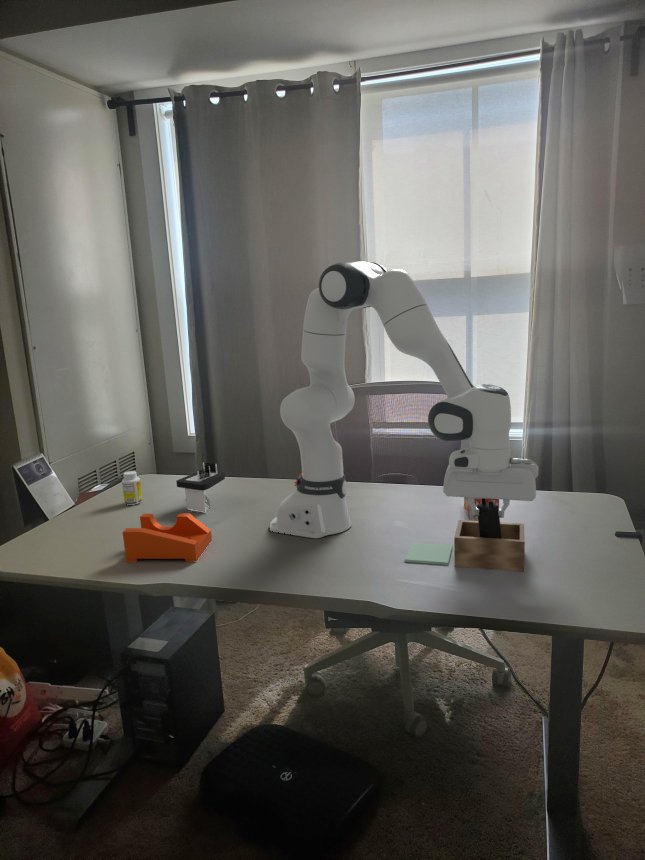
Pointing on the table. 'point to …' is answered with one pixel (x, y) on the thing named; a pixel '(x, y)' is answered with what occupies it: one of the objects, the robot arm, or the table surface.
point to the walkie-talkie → (489, 520)
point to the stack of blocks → (477, 502)
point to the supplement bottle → (131, 488)
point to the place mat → (429, 553)
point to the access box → (489, 547)
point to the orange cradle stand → (166, 539)
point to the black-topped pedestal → (200, 486)
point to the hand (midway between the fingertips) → (488, 516)
